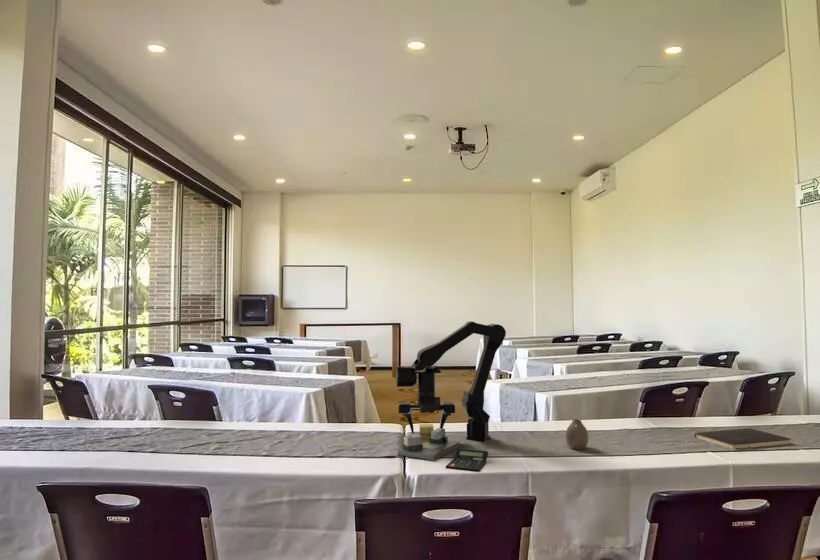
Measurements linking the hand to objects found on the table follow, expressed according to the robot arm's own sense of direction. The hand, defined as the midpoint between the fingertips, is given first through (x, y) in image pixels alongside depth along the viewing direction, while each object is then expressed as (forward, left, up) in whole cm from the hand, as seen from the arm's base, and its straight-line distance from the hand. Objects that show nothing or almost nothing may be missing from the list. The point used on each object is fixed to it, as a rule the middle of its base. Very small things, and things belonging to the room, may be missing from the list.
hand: (426, 433), depth 184 cm
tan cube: (0, 0, -2) cm, 2 cm away
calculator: (-23, +18, -3) cm, 29 cm away
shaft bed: (-7, +11, -2) cm, 13 cm away
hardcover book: (-91, -51, -3) cm, 104 cm away
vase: (-46, -15, -2) cm, 48 cm away
